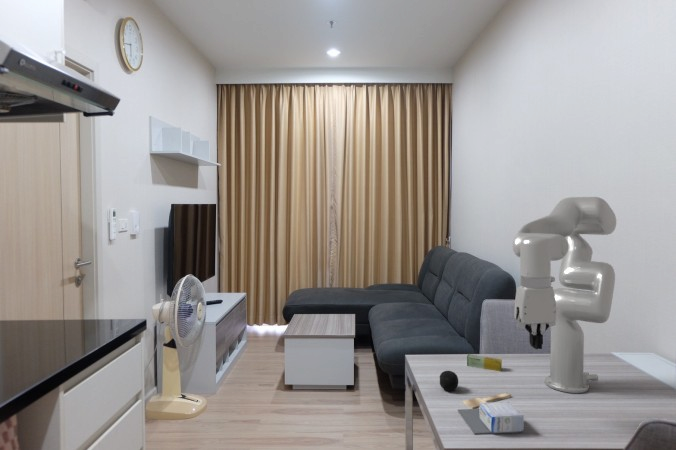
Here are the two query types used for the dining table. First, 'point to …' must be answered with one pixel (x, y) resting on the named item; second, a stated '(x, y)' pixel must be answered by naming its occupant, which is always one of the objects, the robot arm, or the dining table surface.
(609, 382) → the dining table surface
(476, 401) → the wooden turner
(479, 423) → the mat
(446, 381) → the billiard ball
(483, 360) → the medication box
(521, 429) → the medicine box
